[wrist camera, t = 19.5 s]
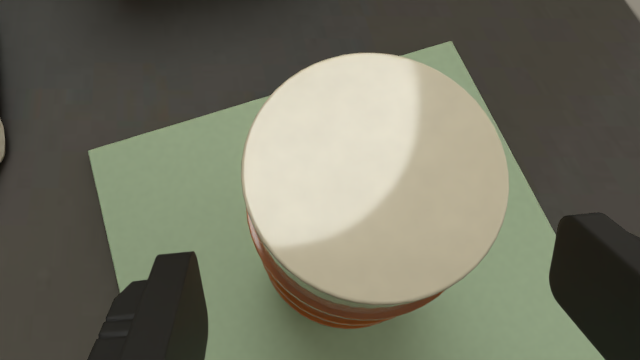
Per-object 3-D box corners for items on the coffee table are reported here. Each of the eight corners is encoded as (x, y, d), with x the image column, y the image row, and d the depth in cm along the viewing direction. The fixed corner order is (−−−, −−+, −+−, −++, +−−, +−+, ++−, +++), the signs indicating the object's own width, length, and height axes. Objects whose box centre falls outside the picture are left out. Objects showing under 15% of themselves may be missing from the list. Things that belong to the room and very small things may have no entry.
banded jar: (381, 163, 21) (443, 17, 12) (441, 298, 20) (569, 250, 10) (247, 209, 21) (200, 88, 11) (295, 355, 19) (287, 360, 9)
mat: (448, 47, 24) (451, 40, 24) (615, 361, 20) (625, 362, 19) (92, 155, 22) (87, 150, 21) (183, 550, 17) (179, 557, 16)
